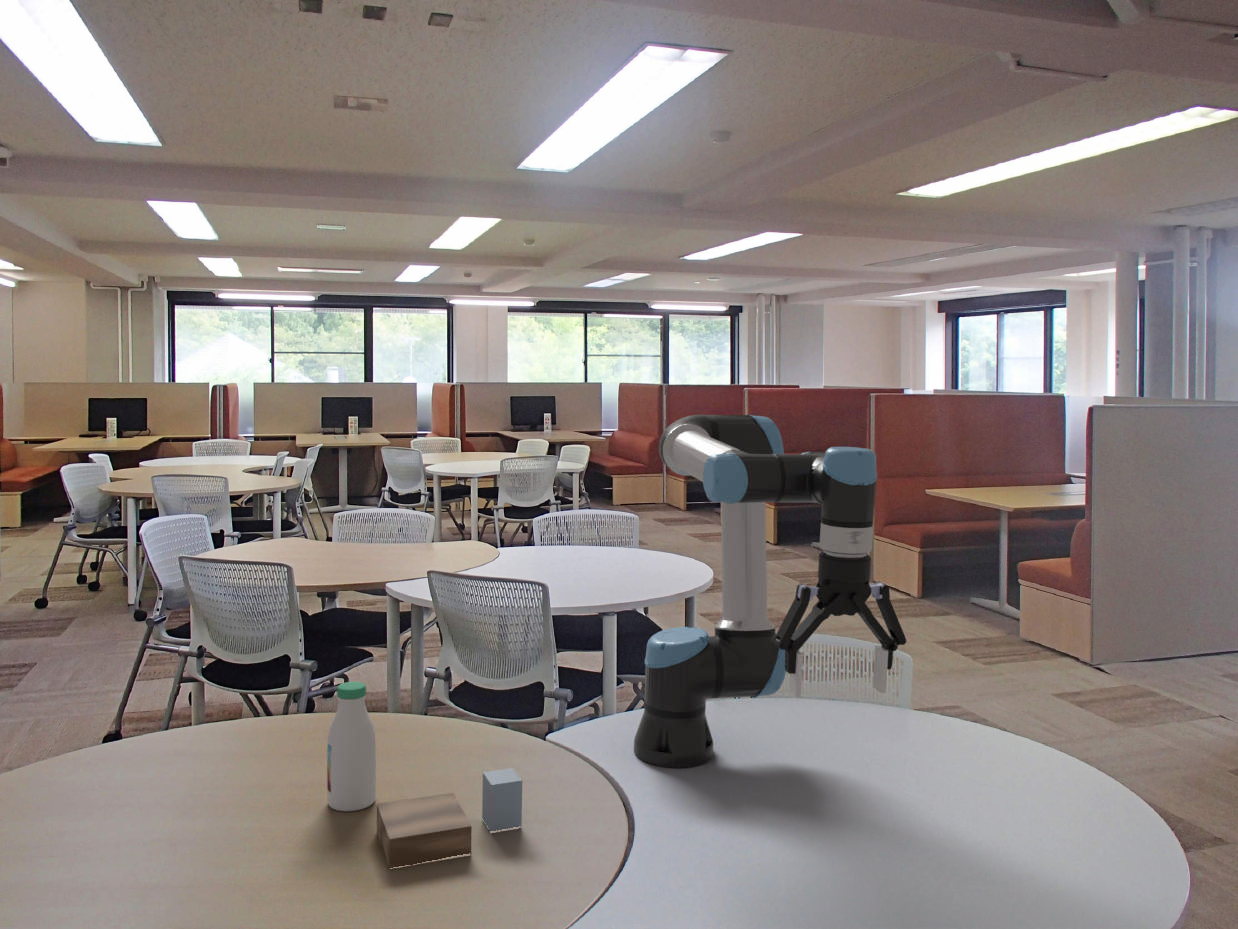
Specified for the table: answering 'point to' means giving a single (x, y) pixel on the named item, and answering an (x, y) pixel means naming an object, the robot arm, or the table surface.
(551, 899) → the table surface
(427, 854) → the walnut box
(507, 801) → the block
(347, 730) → the milk bottle
